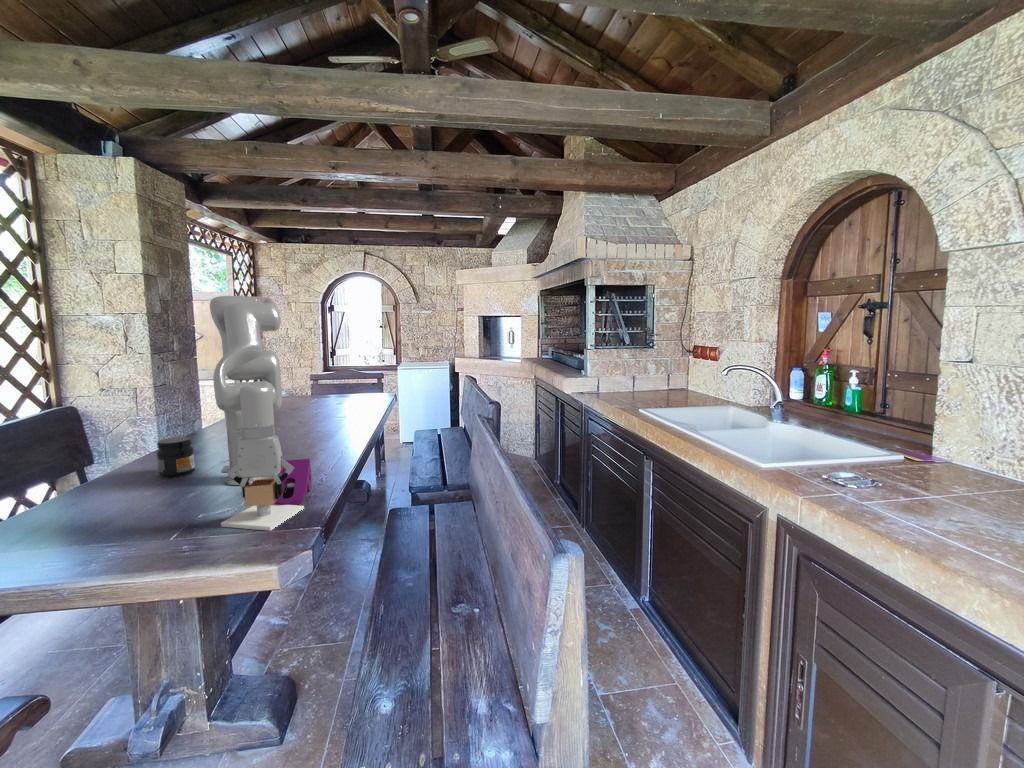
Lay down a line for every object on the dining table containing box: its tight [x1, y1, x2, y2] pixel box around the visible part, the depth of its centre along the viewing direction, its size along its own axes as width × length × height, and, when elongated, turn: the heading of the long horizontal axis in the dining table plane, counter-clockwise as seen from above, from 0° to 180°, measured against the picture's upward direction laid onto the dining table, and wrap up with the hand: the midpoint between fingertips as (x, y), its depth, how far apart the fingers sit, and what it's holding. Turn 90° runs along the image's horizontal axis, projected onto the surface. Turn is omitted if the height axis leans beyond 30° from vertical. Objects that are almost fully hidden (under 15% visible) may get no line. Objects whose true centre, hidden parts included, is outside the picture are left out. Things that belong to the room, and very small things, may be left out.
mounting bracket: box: [274, 458, 312, 505], centre depth 142 cm, size 10×8×18 cm
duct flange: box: [220, 504, 305, 532], centre depth 127 cm, size 14×14×5 cm
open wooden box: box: [244, 477, 277, 507], centre depth 126 cm, size 7×7×5 cm
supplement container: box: [155, 436, 196, 479], centre depth 163 cm, size 10×10×12 cm
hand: (263, 498), depth 126 cm, fingers closed on open wooden box, 6 cm apart
